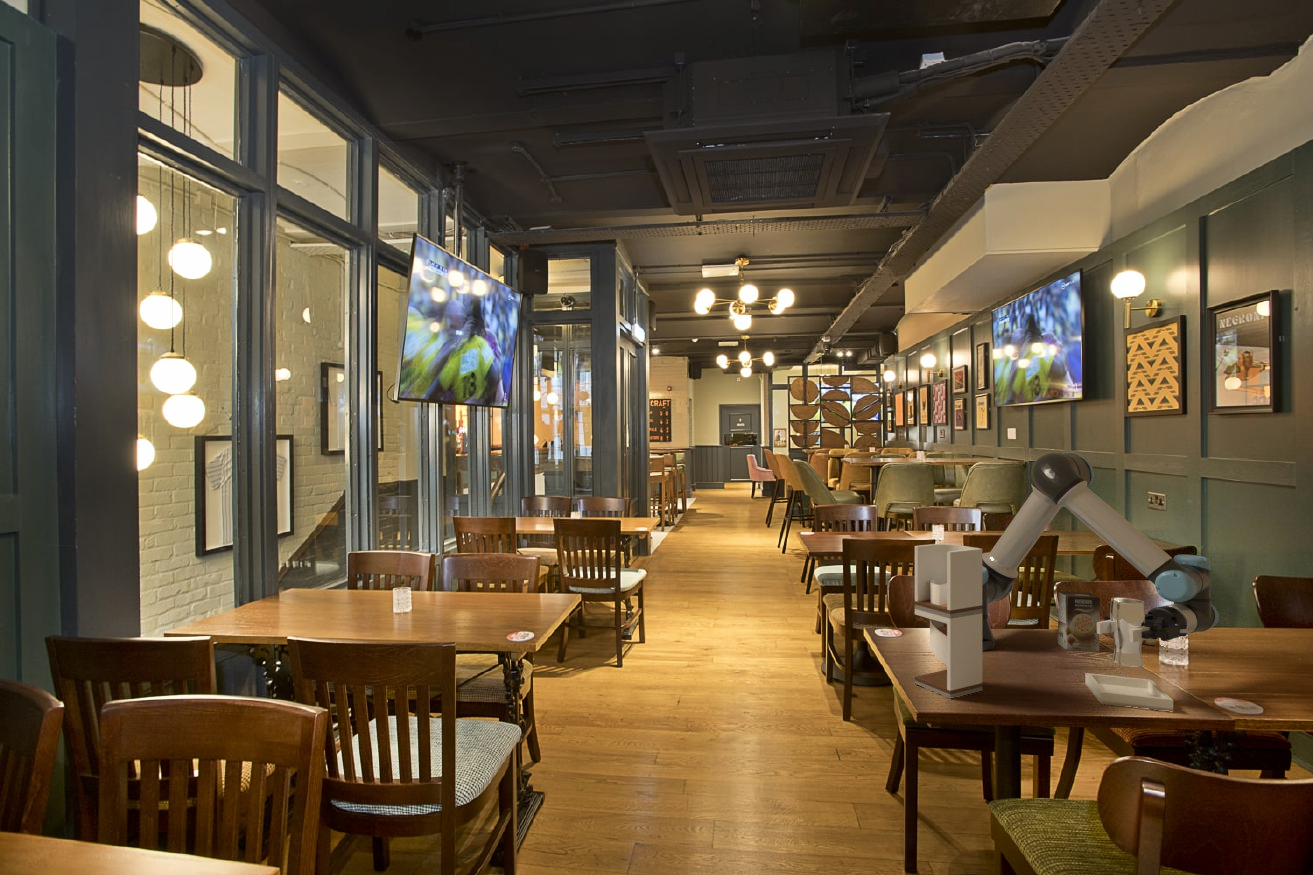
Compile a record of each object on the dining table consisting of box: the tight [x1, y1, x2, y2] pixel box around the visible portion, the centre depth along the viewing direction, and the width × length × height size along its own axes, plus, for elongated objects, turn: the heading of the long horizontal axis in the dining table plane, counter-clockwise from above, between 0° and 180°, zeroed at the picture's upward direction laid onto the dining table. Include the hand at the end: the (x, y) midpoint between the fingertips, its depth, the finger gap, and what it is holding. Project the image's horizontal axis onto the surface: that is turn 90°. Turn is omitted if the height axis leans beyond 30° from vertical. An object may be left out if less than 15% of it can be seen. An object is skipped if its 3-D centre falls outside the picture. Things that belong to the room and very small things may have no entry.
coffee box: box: [1057, 590, 1101, 652], centre depth 200 cm, size 9×6×16 cm
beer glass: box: [1109, 596, 1146, 668], centre depth 161 cm, size 7×7×15 cm
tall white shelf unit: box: [914, 542, 983, 698], centre depth 167 cm, size 11×11×35 cm
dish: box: [1084, 672, 1174, 712], centre depth 161 cm, size 14×14×3 cm
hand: (1114, 632), depth 159 cm, fingers closed on beer glass, 7 cm apart
